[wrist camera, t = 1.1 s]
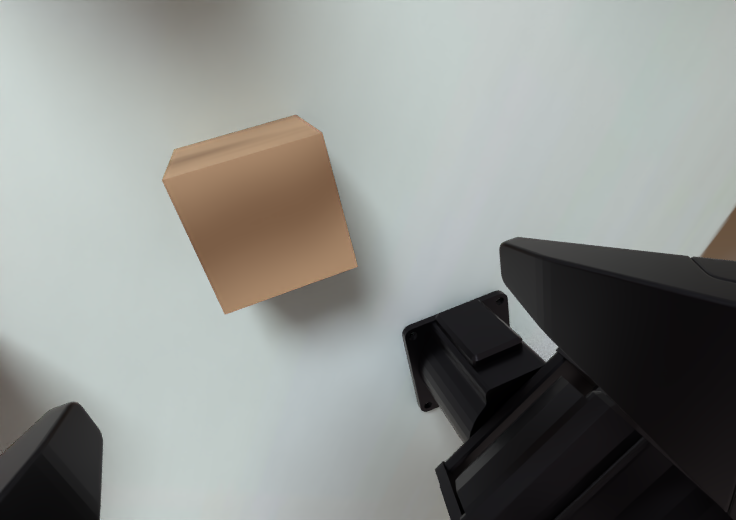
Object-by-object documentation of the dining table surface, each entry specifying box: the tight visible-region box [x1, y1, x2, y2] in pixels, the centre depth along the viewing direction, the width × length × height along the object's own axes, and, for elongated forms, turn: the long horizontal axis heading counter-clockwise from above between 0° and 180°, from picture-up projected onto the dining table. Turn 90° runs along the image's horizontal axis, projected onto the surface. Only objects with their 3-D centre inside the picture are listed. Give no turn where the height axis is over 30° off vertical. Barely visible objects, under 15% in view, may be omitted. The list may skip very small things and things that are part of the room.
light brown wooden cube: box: [162, 115, 358, 314], centre depth 17 cm, size 5×5×5 cm
